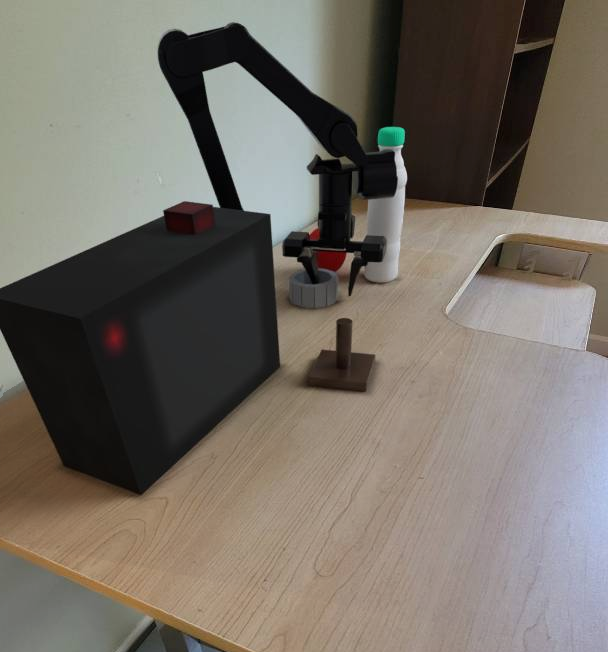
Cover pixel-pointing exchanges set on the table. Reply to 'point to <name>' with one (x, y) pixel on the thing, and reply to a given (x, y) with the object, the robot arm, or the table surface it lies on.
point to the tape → (313, 289)
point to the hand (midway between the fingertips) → (333, 294)
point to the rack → (342, 363)
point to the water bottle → (388, 212)
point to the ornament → (328, 256)
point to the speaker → (147, 339)
